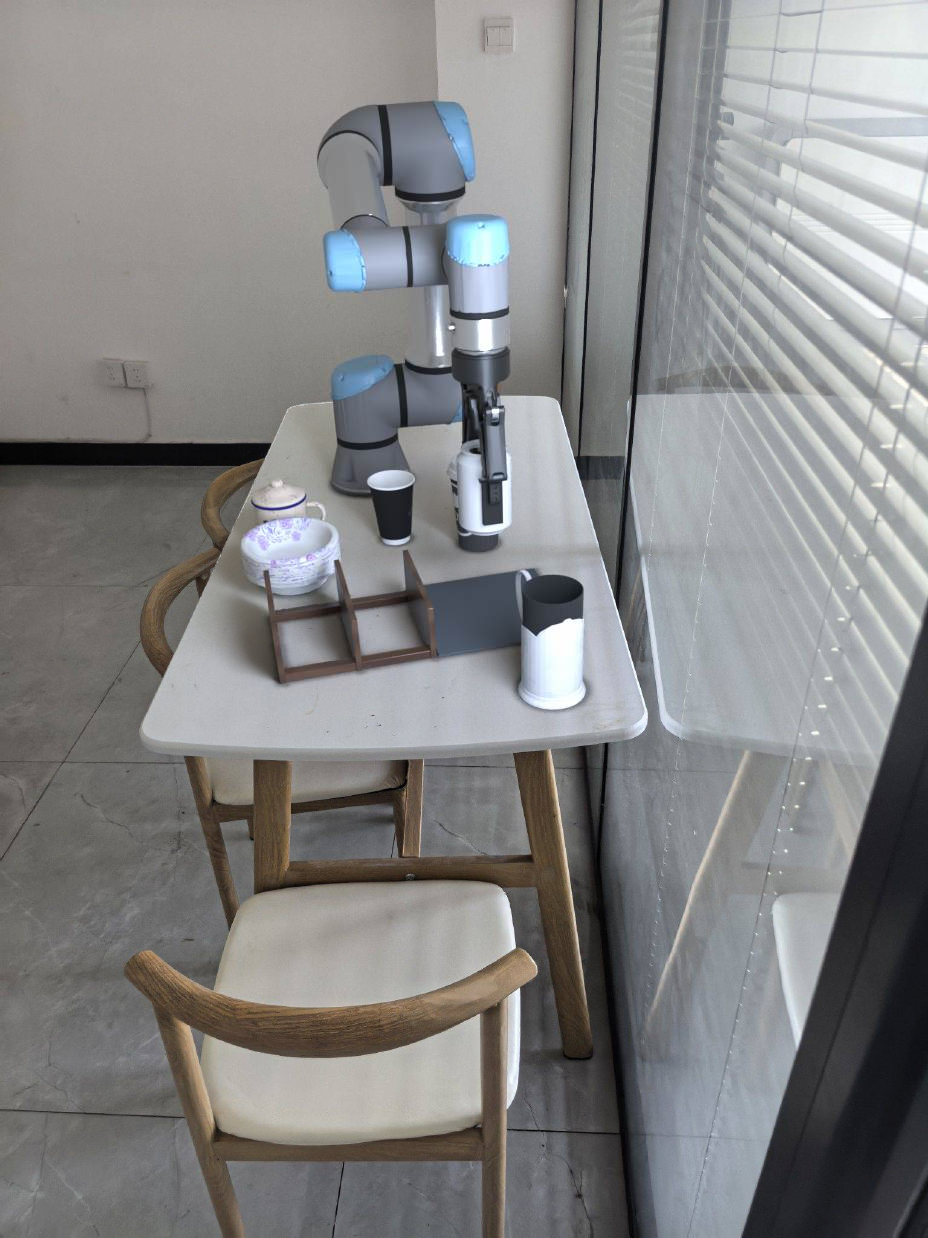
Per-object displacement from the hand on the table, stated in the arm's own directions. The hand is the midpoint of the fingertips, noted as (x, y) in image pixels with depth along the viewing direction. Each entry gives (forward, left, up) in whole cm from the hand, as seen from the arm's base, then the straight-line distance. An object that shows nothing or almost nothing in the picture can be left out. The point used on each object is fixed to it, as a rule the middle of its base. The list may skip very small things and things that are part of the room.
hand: (485, 511), depth 134 cm
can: (0, 0, -3) cm, 3 cm away
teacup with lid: (-32, -26, -17) cm, 44 cm away
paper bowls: (-18, -27, -17) cm, 36 cm away
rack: (+1, -21, -16) cm, 26 cm away
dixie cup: (-28, -9, -17) cm, 34 cm away
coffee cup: (-22, +4, -17) cm, 28 cm away
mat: (0, 0, -16) cm, 16 cm away
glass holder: (+19, +2, -17) cm, 25 cm away
